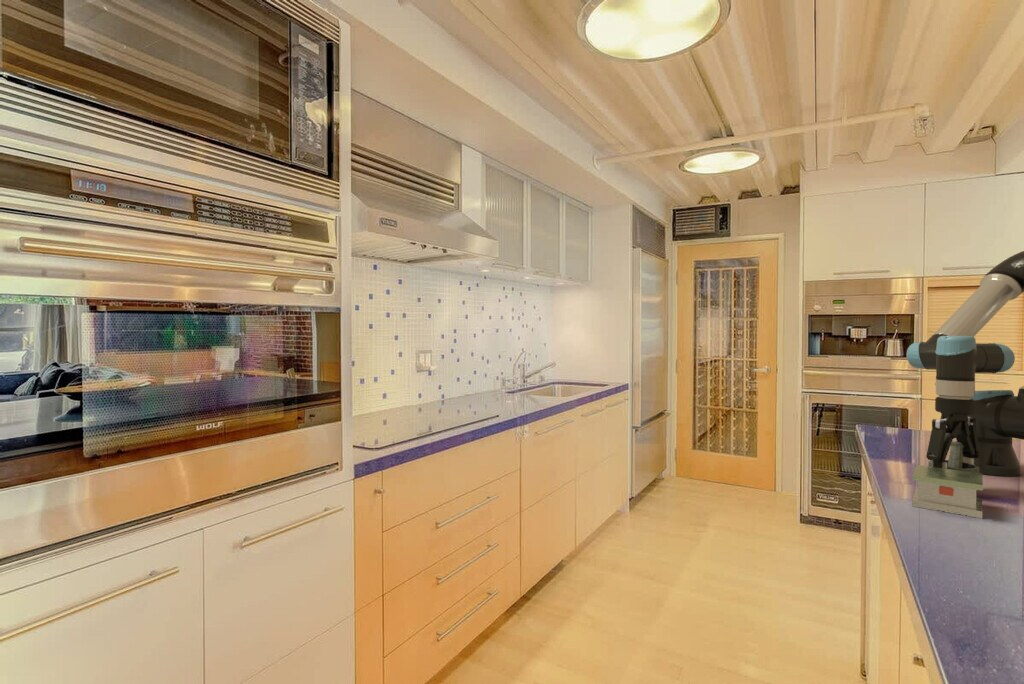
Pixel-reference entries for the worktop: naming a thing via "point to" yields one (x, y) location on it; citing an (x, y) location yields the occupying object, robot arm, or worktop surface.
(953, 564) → the worktop surface
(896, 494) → the worktop surface
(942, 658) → the worktop surface
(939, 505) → the stand
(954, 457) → the mortar and pestle
